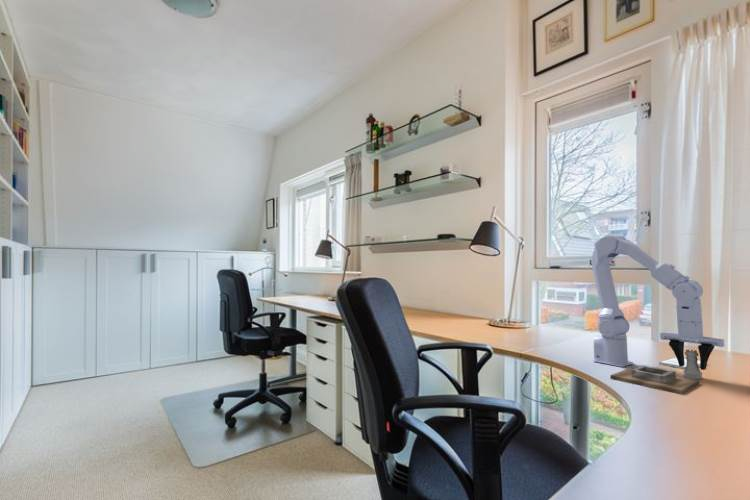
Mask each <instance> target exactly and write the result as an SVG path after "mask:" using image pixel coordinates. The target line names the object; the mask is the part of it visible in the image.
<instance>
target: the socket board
mask: <svg viewBox="0 0 750 500" xmlns="http://www.w3.org/2000/svg"><path fill="white" fill-rule="evenodd" d="M609 377H610V379H611V380H616V381H620V382H623V383H624V382H625V383H628V384H632V385H638V386H643V387H647V388H650V389H651V388H652V389H655V390H656V389H657V390H661V391H666V392H669V393H675V394H680V395H683V394H685V393H686V392H688V391H690V390H691V389H693V388H694V387H695V388H696V387H697V386H698V385H700V384H701V381H700V380H696V379H691V378H686V377H684V376H679V375H676V371H675V370H670V369H664V368H659V367H653V366H648V365H641V366H639V367H628V368H625V369H623V370H621V371H618V372H616V373H613V374H610V376H609Z"/></svg>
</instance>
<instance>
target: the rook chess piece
mask: <svg viewBox="0 0 750 500" xmlns="http://www.w3.org/2000/svg"><path fill="white" fill-rule="evenodd" d="M684 355H686V357H685V358H686V359H687V365H686V368H685V370H684V369H683V377H685V378H691V379H696V380H702V379H704V377H703V372H702V370H701V369H700V367H698V363H697V360H699V359H698V356H700V353H699V352H698V350H695V349H694V350H693V349H685V351H684Z"/></svg>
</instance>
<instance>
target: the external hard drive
mask: <svg viewBox="0 0 750 500" xmlns="http://www.w3.org/2000/svg"><path fill="white" fill-rule="evenodd" d="M697 363H698V367H699V368H701V367H700V359H698V360H697ZM658 365H659V366H664V367H669V368H670V367H671V368H676V369H681V370H683V371H684V370H685V368H686V365H687V359H686V357H684V366H679V363H678V360H677V357H676V356H675V357H673V358H670V359H667V360H663V361H659V362H658Z"/></svg>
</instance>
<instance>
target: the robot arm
mask: <svg viewBox="0 0 750 500" xmlns="http://www.w3.org/2000/svg"><path fill="white" fill-rule="evenodd" d="M593 244H594V249H593V253H592V255H591V258H590V263H591V268H592V272H593V273H592V274H593V278H594V282H595V285H596V286H595V287H596V291H597V296H598V302H599V305H600V308H601V309H600V311H599V313H598V324H597V329H598V332H599V333H600V334H601V335H600V334H598V335H596V336H595V337H594V339H593V357H594V358H593V361H592V362H594V363H601V364H604V365H610V366H615V367H622V368H624V367H627V366H629V365H632V364H634V362H633V361H631V360H629V355H628V337H627V333H629V331H630V323H629V322H628V320H627V319H626V317H625V314H624V311H622V309H621V308H620V307H619V301H618V297H617V292H616V288H615V284H614V279H613V275H612V274H613V273H612V270H611V265H610V263H611V262H612V261H613V260H614V259H615V258H616V257H618V256H619V255H624V256H628V257H630V258H631V259H633V260H634V261H636V262H637V263H639V264H640V265H642V266H643V267H645V268H646V269H648V270H649V271H650V276H651V278H653V279H654V280H655V281H657V282H659V283H660V284H661V285H663V286H664V288H667V290H669V291H671V293H672V296H673V297H674V298H675V301H676V303H675V304H676V306H675V307H676V320H677V321H676V322H677V323H676V324H677V333H675V332H674V333H672V332H671V333H670V332H660V334H659V335H660V337H659V339H660V340H661V341H662V340H663V341H664V340H665V341H668V346H670V349H671V350H672V351H673V353H674V355H675V358H676V357H677V360H678V363H679V366H684V358H685V356H684V355H685V351H684V350H685V349H684V348H685V343H690V344H699V345H698V346H697V349H698V354H699V361H700V367H699V368H700V371H705V370H707V365H708V361H709V359H710V356H711V354H712V353H713V350H714V349H715V347H719V348H724V347H725V339H724V338H723V339H722V338H716V337H711V336H710V337H709V336H704V329H703V328H704V327H703V326H704V325H703V313H702V312H703V311H702V309H703V308H702V303H701V297H702V295H703V293H704V290H703V287H702V285H701V284H700V283H699V282H698V281H696V280H693V279H690V277H689V276H688V275H684V274H683V273H681V272H680V271H678V270H677V269H675V268H676V266H675V265H674V264H672V263H671V264H668V263H666V262H663V263H660V262H659V261H657V260H656V259H654V258H653V257H652V256H651V255H649V254H648V253H647V252H646V251H644V250H643V249H642V248H640V247H639V246H637V244H635V243H634V242H633V241H632V240H630V239H627V238H626V237H625V236H622V235H611V234H604V235H601V236H600V237H598V239H597V240H596V241H595V242H593Z"/></svg>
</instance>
